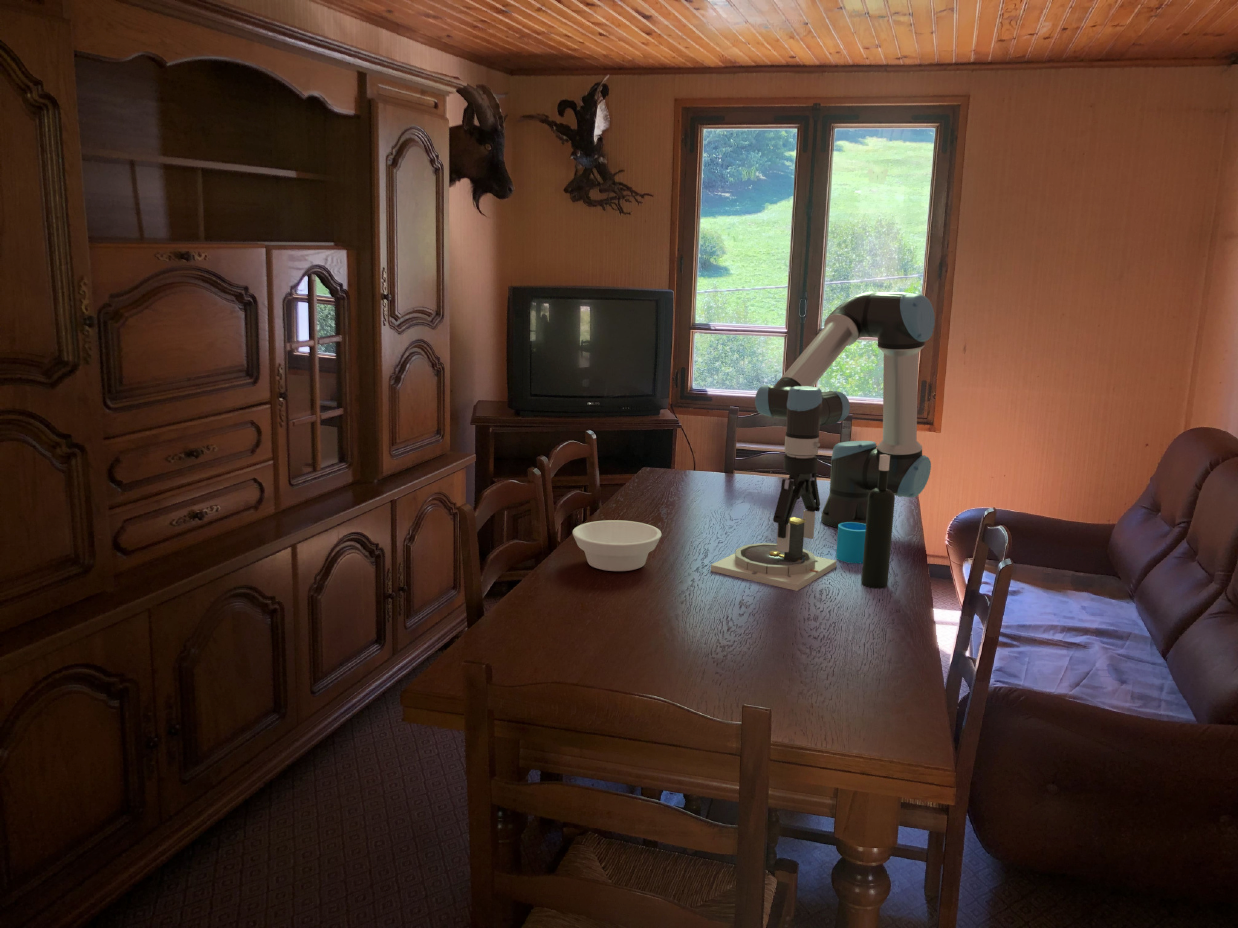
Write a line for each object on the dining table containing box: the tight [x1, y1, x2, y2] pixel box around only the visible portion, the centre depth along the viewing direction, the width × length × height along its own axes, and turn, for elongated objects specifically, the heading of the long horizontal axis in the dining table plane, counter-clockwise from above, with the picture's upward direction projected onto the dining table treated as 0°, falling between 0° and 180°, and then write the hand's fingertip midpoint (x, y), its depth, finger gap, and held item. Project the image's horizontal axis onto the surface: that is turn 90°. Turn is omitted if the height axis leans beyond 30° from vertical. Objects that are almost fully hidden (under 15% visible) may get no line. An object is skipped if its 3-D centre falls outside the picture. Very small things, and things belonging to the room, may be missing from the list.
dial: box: [745, 516, 805, 566], centre depth 226 cm, size 14×14×11 cm
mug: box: [835, 522, 866, 564], centre depth 238 cm, size 12×8×8 cm
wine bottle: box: [860, 454, 896, 589], centre depth 215 cm, size 6×6×30 cm
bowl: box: [572, 519, 663, 572], centre depth 227 cm, size 21×21×8 cm
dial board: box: [710, 542, 837, 592], centre depth 227 cm, size 22×22×4 cm
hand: (795, 544), depth 223 cm, fingers open, 13 cm apart
